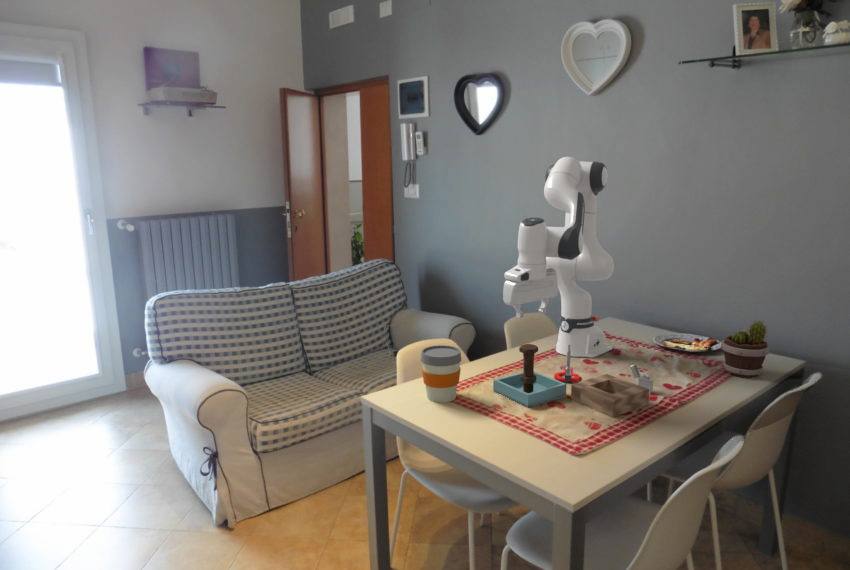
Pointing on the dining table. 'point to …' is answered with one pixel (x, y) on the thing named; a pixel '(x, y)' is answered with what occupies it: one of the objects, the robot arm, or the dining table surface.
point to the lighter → (642, 378)
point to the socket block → (610, 395)
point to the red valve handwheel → (567, 372)
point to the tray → (541, 393)
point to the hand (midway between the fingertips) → (531, 314)
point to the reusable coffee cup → (441, 372)
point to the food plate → (685, 345)
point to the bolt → (528, 366)
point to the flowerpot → (746, 351)
